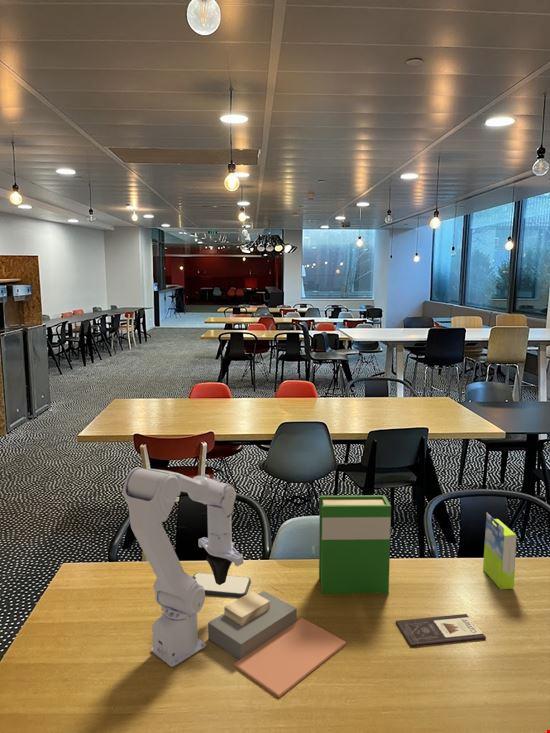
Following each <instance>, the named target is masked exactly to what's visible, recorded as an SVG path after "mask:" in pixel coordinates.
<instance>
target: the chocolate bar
mask: <svg viewBox="0 0 550 733" xmlns="http://www.w3.org/2000/svg"><path fill="white" fill-rule="evenodd" d="M395 624H396V626H397V628H398V629H399V631H400V632H401V634H402V636H403V637H404V639H405V641H406V642H407V644H408V645H409V647H410V648H416V647H425V646H435V645H446V644H456V643H463V642H465V643H466V642H474V641H483V640H486V639H487V637H486V635H485V634H484V633H483V632H482V631H481V630H480V628H479V627H478V626H477V625H476V623H475V622H474V621H473V620H472V618H470V617H469V615H468V614H467V613H464V614H463V613H462V614H451V615H441V616H433V617H432V616H431V617H430V616H428V617H422V618H412V619H402V620H395Z"/></svg>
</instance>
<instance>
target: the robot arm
mask: <svg viewBox="0 0 550 733" xmlns="http://www.w3.org/2000/svg"><path fill="white" fill-rule="evenodd" d="M210 477H211V476H210V475H209V474H206V473H202V474H201V475H196V476H194V477H189V476H187V475H184V474H181V473H179V472H174V471H170V470H164V469H156V468H143V467H140V466H137V467H134V468H132V469H131V470H130V472H128V474H127V475H126V479H125V481H124V484H123V488H122V490H121V491H122V492H121V493H122V496H123V498H124V500H125V501H126V503H127V507H128V512H129V513H128V515H129V522H130V528H131V530H132V532H133V534H134V537H135V538H136V540H137V543H138V544H139V546H140V548H141V550H142V552H143V553H144V555H145V558H146V559H147V561H148V564H149V565H150V567H151V569H152V571H153V573H154V575H155V577H156V578H155V580H154V583H153V584H152V585H153V586H152V587H153V590H154V595H155V597H154V598H155V601H156V603H157V604H158V605H159V606H160V609H161V610H160V611H161V612H162V614H161V615H160V616H159V618H157V619H156V620H155V621H153V624H152V628H151V629H152V647H151V649H150V651H151V652H152V653H153V654H154V655H155V656H157V657H158V658H159V659H161V660H162V661H163V662H164V663H166V664H167V665H168V666H170V667H172V668H174V667H175V666H176V665H178V664H180V663H182V662H183V661H185V660H186V659H187V660H188V658H190V657H192V656H193V655H195V654H196V653H198V652H199V651H201V650H203V649H205V648H206V647H207V644H206V643H205V642H204V641H202V640H201V639H200V638H198V636H199V635H198V634H199V633H198V629H199V628H198V614H199V612H200V611H201V610H202V608H203V606H204V604H205V601H206V600H205V599H206V595H205V590H204V588H203V586H201V585H199V584H198V583H197V581H196V580H195V579H194V578H193V576H192V575H189V574H188V573H187V572H186V571H185V570H184V568H183V566H182V564H181V561H180V559H179V557H178V555H177V553H176V551H175V549H174V547H173V545H172V542H171V541H170V538H169V536H168V534H167V532H166V530H165V528H164V526H163V522H166V521H167V520H168V518H169V516H170V513H171V511H172V509H173V507H174V504H175V503H176V500H177V498H178V497H179V496H181V492H183V493H187V495H188V497H189V499H190V500H192V501H193V502H198V503H201V504H203V505H206V508H207V510H206V511H207V537H205V536H204V537H201V538H198V542H197V543H198V547H199V548H204V550H205V551H206V552H207V553H208V555H207V556H205V560H206V562H207V563H208V565H209V566H210V568H211V571H212V574H213V575H214V578H215V582H216V584H218V585H221V584H223V583H225V582H226V577H227V575H228V572H229V570H230V567H231V565H232V563H234V566H236V567H239V566H241V565H243V564H244V556H243V555H242V554H241V553H240V552H239V551H238V550H237V549H236V548H235V543H234V542H233V541H232V540H233V539H232V538H233V537H232V531H233V530H232V513H233V512H234V506H235V505H234V504H235V501H236V497H237V492H236V491H235V488H234V487H233V485H232V484H229V483H224V482H221V480H220V479H219V478H210Z"/></svg>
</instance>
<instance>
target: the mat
mask: <svg viewBox="0 0 550 733" xmlns="http://www.w3.org/2000/svg"><path fill="white" fill-rule="evenodd" d="M346 645H347V641H346V640H344V639H342V638H340V637H338V636H336V635H335V634H333V633H330V632H329V631H327V630H325V629H323V628H321V627H320V626H318V625H316V624H314V623H313V622H311V621H309V620H307V619H305V618H303V617H301V618H300V619H299V620H297V622H295V623H294V624H292V625H291V626H289V627H288V628H286V629H285V630H283V631H282V632H280V633H279V634H277V635H276V636H274V637H273V638H271V639H270V640H268V641H267V642H266V643H264V644H263V645H261V646H260V647H258V648H257V649H255V650H254V651H252V652H251V653H249V654H248V655H246V656H245V657H243V658H242V659H240V660H237V661H236V662H234V664H233V665H234V667H235V668H236V669H237V670H239V671H241V672H242V673H244V674H245V675H246V676H248V677H249V678H251V680H253V681H255V682H256V683H257V684H259V685H260V686H262V687H263V688H264V689H266V690H268V691H269V692H270V693H272V694H273V695H275V697H278V698H281V697H282V696H283V695H285V694H286V693H287V692H288V691H290V690H291V689H292V688H294V686H296V685H298V684H299V682H301V681H302V680H303V679H304V678H306V677H307V676H309V674H311V673H312V672H313V671H315V670H316V669H317V668H318V667H319V666H321V665H322V664H323V663H324V662H326V661H327V660H328V659H330V658H331V657H332V656H333V655H335V654H336V653H337V652H339V650H341V649H342V648H343V647H345V646H346Z"/></svg>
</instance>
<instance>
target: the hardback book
mask: <svg viewBox="0 0 550 733" xmlns="http://www.w3.org/2000/svg"><path fill="white" fill-rule="evenodd" d="M391 520H392V505H391V503H390V502H389V499H388V498H387V497H386V495H385V494H383V495H381V494H377V495H376V494H373V495H372V494H371V495H370V494H369V495H363V494H362V495H360V494H359V495H355V494H354V495H353V494H352V495H351V494H350V495H346V494H345V495H342V494H341V495H319V520H318V521H319V526H318V527H319V528H318V529H319V531H318V532H319V536H318V537H319V540H318V543H319V544H318V550H319V551H318V581H321V582H320V583H321V584H320V585H321V587H320V589H321V590H320V591H321V592H320V593H321V594H322V595H326V594H327V595H329V594H330V595H333V594H334V595H336V594H337V595H340V594H341V595H342V594H344V595H345V594H347V595H352V594H354V595H355V594H356V593H357V595H358V594H359V593H360V594H361V593H362V594H363V595H364V594H389V592H390V590H389V589H390V561H391V560H390V559H391V558H390V557H391V553H390V551H391V529H392V528H391Z"/></svg>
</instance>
